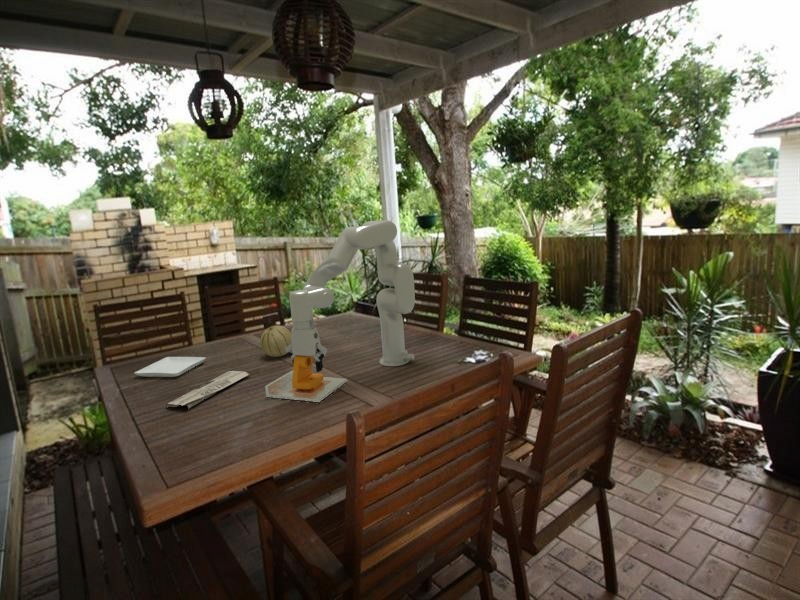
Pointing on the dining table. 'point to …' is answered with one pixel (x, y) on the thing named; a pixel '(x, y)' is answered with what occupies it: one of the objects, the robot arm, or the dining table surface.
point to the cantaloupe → (275, 341)
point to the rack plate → (285, 390)
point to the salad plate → (170, 366)
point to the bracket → (305, 374)
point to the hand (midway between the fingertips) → (308, 370)
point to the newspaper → (208, 389)
